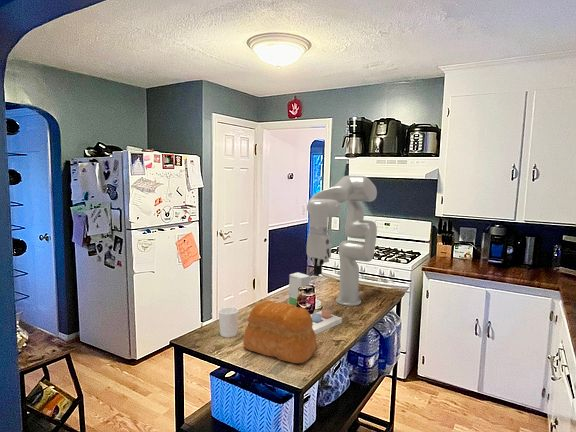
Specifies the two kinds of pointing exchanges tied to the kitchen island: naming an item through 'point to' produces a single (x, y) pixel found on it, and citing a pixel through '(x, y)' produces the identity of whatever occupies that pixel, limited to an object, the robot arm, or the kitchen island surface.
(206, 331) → the kitchen island surface
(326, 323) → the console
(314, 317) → the slate button
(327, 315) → the rust button
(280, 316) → the bread
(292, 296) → the skincare box
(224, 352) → the kitchen island surface
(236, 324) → the white cup
